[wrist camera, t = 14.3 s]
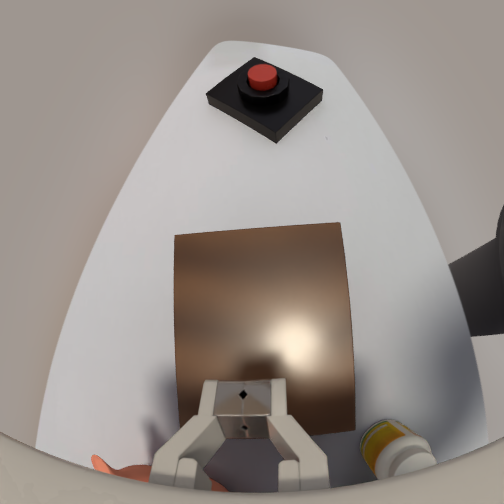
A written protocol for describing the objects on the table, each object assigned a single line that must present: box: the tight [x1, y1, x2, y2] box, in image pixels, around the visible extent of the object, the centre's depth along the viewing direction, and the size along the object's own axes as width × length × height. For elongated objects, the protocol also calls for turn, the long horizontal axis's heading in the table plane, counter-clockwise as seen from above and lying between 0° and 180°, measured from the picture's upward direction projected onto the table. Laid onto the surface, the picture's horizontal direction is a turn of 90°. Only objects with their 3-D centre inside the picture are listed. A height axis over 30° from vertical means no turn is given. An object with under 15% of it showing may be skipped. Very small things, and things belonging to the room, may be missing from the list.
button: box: [248, 64, 277, 91], centre depth 34 cm, size 4×4×2 cm
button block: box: [206, 57, 323, 143], centre depth 36 cm, size 12×10×4 cm
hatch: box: [174, 222, 355, 439], centre depth 21 cm, size 15×13×1 cm
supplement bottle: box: [360, 420, 437, 480], centre depth 21 cm, size 5×5×10 cm
